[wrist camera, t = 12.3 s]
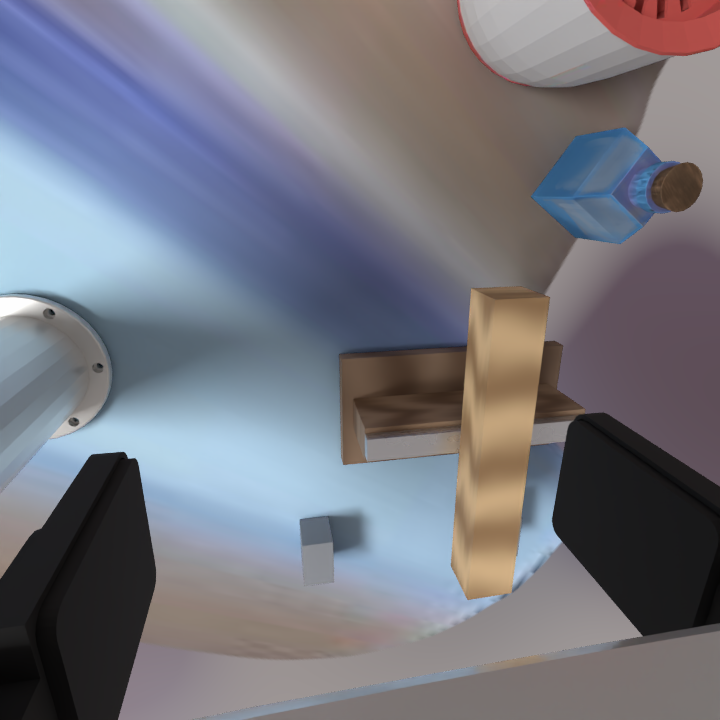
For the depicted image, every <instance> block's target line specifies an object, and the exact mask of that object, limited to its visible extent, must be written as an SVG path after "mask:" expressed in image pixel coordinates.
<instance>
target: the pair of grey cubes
mask: <svg viewBox="0 0 720 720" xmlns="http://www.w3.org/2000/svg"><path fill="white" fill-rule="evenodd" d="M521 524H522V517H521V522H520V530H519V537H518V545H517V553H516V556H517V554H518V547H519V539H520V532H521ZM300 535H301V553H302V566H303V577H304V587H305V586H312V585H319V584H326V583H333V582H334V560H333V539H332V534H331V529H330V523H329V518H328V516H326V517H318V518H309V519H301V520H300Z"/></svg>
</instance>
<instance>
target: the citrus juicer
mask: <svg viewBox="0 0 720 720" xmlns="http://www.w3.org/2000/svg"><path fill="white" fill-rule="evenodd" d="M457 5H458V13H459V20H460V23H461V27H462V30H463V34H464V36H465V38H466V40H467V42H468V44H469V46H470V48H471V50H472V51H473V53H474V54H475V55H476V57H477V58H478V59H479V61H480V62H482V63H483V64H484V65H485V66H486V67H487V68H488V69H490V70H491V71H492V72H493V73H495V74H496V75H498V76H500V77H502V78H504V79H506V80H508V81H510V82H512V83H516V84H520V85H524V86H535V87H573V86H577V85H582V84H586V83H590V82H595V81H599V80H603V79H607V78H610V77H613V76H616V75H619V74H622V73H625V72H628V71H631V70H634V69H637V68H640V67H643V66H646V65H649V64H652V63H655V62H658V61H661V60H664V59H667V58H670V57H673V56H676V55H677V56H688V55H692V54H696V53H700V52H705V51H709V50H713V49H715V48H717V47H719V46H720V0H457Z"/></svg>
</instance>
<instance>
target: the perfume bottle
mask: <svg viewBox="0 0 720 720" xmlns="http://www.w3.org/2000/svg"><path fill="white" fill-rule="evenodd" d="M702 183H703V178H702V173H701V171H700V169H699V168H698V167H697V166H696V165H694V164H693V163H688V162H687V163H680V162H675V161H668V162H661V161H660V159H659V158H658V157H657V156H656V155H655V154H654V153H653V152H652V151H651V150H650V148H649V147H648V146H646V145H645V144H644V143H643V142H642V141H641V140H639V139H638V138H637V137H636V136H635V135H633V134H632V133H631V132H630V131H629V130H627V129H626V128H619V129H614V130H608V131H603V132H597V133H592V134H586V135H581V136H576V137H575V138H574V140H573V141H572V142H571V144H570V145H569V146H568V148H567V149H566V151H565V152H564V153H563V155H562V156H561V157H560V159H559V160H558V161H557V163H556V164H555V165H554V167H553V168H552V169H551V171H550V172H549V173H548V175H547V176H546V177H545V179H544V180H543V181H542V183H541V184H540V185H539V187H538V188H537V189H536V191H535V192H534V193H533V195H532V196H531V197H532V198H533V199H534V200H535V201H536V202H537V203H538V204H539V205H540V206H542V207H543V208H544V209H545V210H546V211H547V212H548V213H549V214H550V215H551V216H552V217H554V218H555V219H556V220H557V221H558V222H559V223H560V224H561V225H562V226H563V227H564V228H566V229H567V230H568V231H569V232H570V233H571V234H572V235H573V236H574V237H576V238H583V239H589V240H596V241H603V242H609V243H617V244H621V243H622V242H624V241H625V240H626V239H628V238H629V237H630V236H632V235H633V234H634V233H636V232H637V231H638V230H640V229H641V228H642V227H644V225H645V224H646V223H647V222H648V220H649V219H650V218H651V216H653V214H654V213H668V212H671V211H674V212H679V211H684V210H685V209H687V208H689V207H690V206H691V205H692V204H693V203H695V201H696V200H697V198H698V197H699V194H700V192H701V189H702Z"/></svg>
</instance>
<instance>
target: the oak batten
mask: <svg viewBox="0 0 720 720" xmlns="http://www.w3.org/2000/svg"><path fill="white" fill-rule="evenodd" d="M549 300H550V297H548V296H545V295H543V294H540V293H538V292H535V291H532V290H530V289H527V288H524V287H521V286H516V287H493V288H471V300H470V313H469V327H468V340H467V354H466V367H465V381H464V394H463V408H462V421H461V435H460V449H459V462H458V476H457V489H456V503H455V516H454V530H453V543H452V557H451V567H452V569H453V571H454V573H455V575H456V577H457V579H458V581H459V583H460V585H461V587H462V589H463V592H464V594H465V596H466V598H467V600H470V599H476V598H483V597H489V596H495V595H502V594H508V593H511V591H512V583H513V576H514V568H515V560H516V553H517V545H518V537H519V530H520V522H521V514H522V507H523V499H524V491H525V484H526V476H527V468H528V461H529V453H530V446H531V438H532V430H533V423H534V415H535V407H536V400H537V392H538V384H539V377H540V369H541V361H542V354H543V346H544V338H545V331H546V322H547V315H548V308H549Z"/></svg>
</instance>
